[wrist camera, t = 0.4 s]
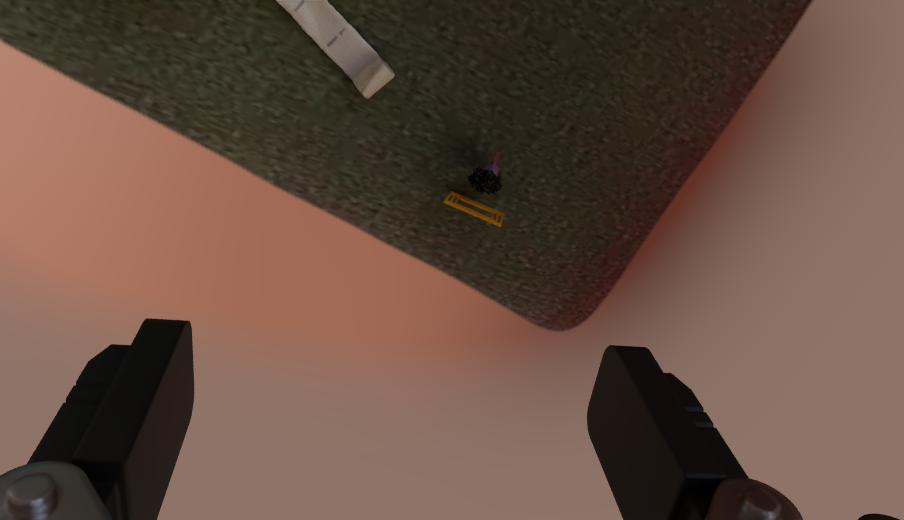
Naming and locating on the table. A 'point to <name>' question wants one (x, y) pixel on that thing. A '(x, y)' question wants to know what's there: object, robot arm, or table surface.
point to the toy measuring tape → (341, 43)
